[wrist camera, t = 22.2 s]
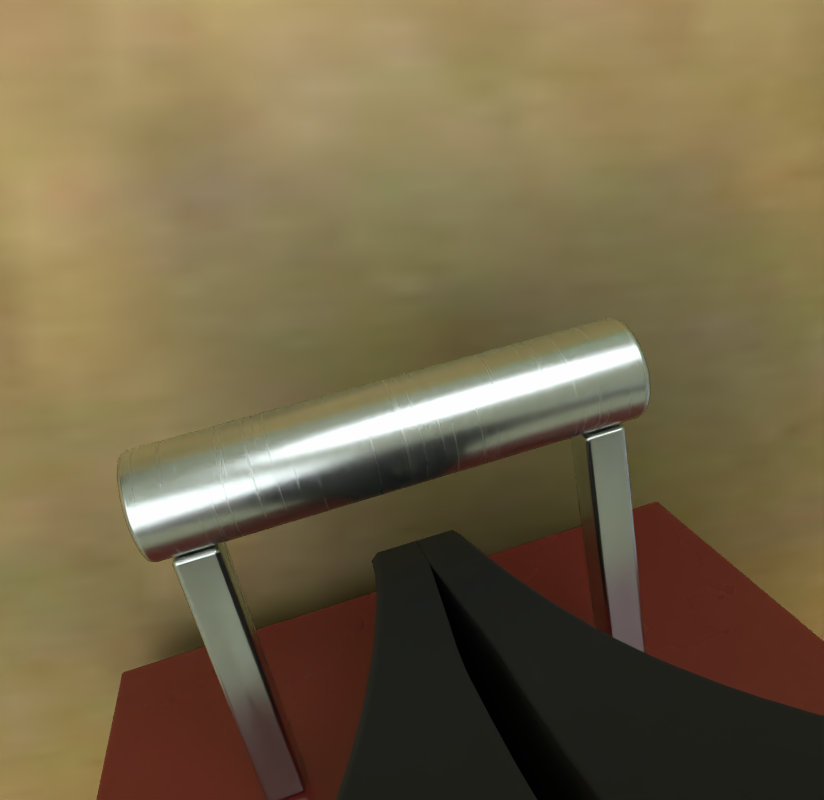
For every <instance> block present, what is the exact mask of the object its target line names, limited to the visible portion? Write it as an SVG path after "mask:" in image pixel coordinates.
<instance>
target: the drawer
mask: <svg viewBox="0 0 824 800" xmlns="http://www.w3.org/2000/svg"><path fill="white" fill-rule="evenodd" d="M650 390H651V388H650V376H649V371H648V366H647V362H646V359H645V356H644V354H643V351H642V349H641V346H640V344H639V342H638V340H637V339H636V337H635V335H634V334H633V332H632V331H631V330H630V329H629V328H628V326H627V325H626V324H624V323H623V322H622V321H620V320H618V319H614V318H605V319H601V320H598V321H594V322H590V323H587V324H583V325H579V326H576V327H572V328H568V329H565V330H561V331H558V332H554V333H550V334H547V335H543V336H539V337H536V338H532V339H529V340H525V341H521V342H518V343H514V344H510V345H507V346H503V347H499V348H496V349H492V350H489V351H485V352H481V353H478V354H474V355H470V356H467V357H463V358H460V359H456V360H452V361H449V362H445V363H441V364H438V365H434V366H430V367H427V368H423V369H420V370H416V371H412V372H409V373H405V374H401V375H398V376H394V377H391V378H387V379H383V380H380V381H376V382H372V383H369V384H365V385H361V386H358V387H354V388H351V389H347V390H343V391H340V392H336V393H332V394H329V395H325V396H322V397H318V398H314V399H311V400H307V401H303V402H300V403H296V404H292V405H289V406H285V407H282V408H278V409H274V410H271V411H267V412H263V413H260V414H256V415H253V416H249V417H245V418H242V419H238V420H234V421H231V422H227V423H223V424H220V425H216V426H213V427H209V428H205V429H202V430H198V431H194V432H191V433H187V434H184V435H180V436H176V437H173V438H169V439H165V440H162V441H158V442H154V443H151V444H147V445H144V446H140V447H136V448H133V449H129V450H126V451H125V452H123V453H122V454H121V455H120V457H119V460H118V465H117V483H118V491H119V497H120V502H121V507H122V511H123V514H124V518H125V521H126V524H127V527H128V529H129V532H130V534H131V536H132V539H133V541H134V543H135V545H136V546H137V548H138V549H139V551H140V552H141V554H142V555H143V556H144V558H145V559H147V560H148V561H150V562H159V561H162V560H166V559H169V558H172V557H173V567H174V570H175V572H176V575H177V577H178V580H179V582H180V585H181V587H182V590H183V592H184V595H185V597H186V600H187V602H188V605H189V607H190V610H191V613H192V615H193V618H194V620H195V623H196V625H197V628H198V630H199V633H200V635H201V638H202V640H203V643H204V645H205V646H204V647H201V648H198V649H195V650H192V651H189V652H186V653H183V654H180V655H176V656H173V657H170V658H167V659H164V660H161V661H158V662H155V663H151V664H148V665H145V666H142V667H139V668H136V669H133V670H130V671H126V672H124V673H123V674H122V678H121V683H120V688H119V692H118V697H117V702H116V707H115V712H114V717H113V722H112V727H111V731H110V736H109V741H108V746H107V751H106V756H105V761H104V766H103V771H102V775H101V780H100V785H99V790H98V795H97V800H336V798H337V795H338V792H339V789H340V786H341V782H342V779H343V776H344V773H345V770H346V767H347V764H348V761H349V757H350V754H351V751H352V747H353V743H354V739H355V736H356V732H357V728H358V724H359V720H360V716H361V712H362V707H363V703H364V698H365V693H366V687H367V681H368V675H369V670H370V664H371V658H372V651H373V643H374V631H375V620H376V592H373V593H370V594H367V595H364V596H360V597H357V598H354V599H351V600H348V601H345V602H342V603H339V604H335V605H332V606H329V607H326V608H323V609H320V610H317V611H314V612H311V613H307V614H304V615H301V616H298V617H295V618H292V619H289V620H286V621H282V622H279V623H276V624H273V625H270V626H267V627H264V628H261V629H257V630H256V627H255V624H254V621H253V619H252V616H251V613H250V610H249V607H248V605H247V602H246V599H245V596H244V593H243V591H242V588H241V585H240V582H239V579H238V577H237V574H236V571H235V568H234V565H233V563H232V560H231V557H230V554H229V551H228V549H227V546H226V543H225V542H226V541H229V540H232V539H236V538H239V537H242V536H246V535H249V534H252V533H256V532H259V531H262V530H266V529H269V528H272V527H276V526H279V525H282V524H286V523H289V522H292V521H296V520H299V519H302V518H306V517H309V516H312V515H316V514H319V513H322V512H326V511H329V510H332V509H336V508H339V507H342V506H346V505H349V504H352V503H356V502H359V501H362V500H366V499H369V498H372V497H376V496H379V495H382V494H386V493H389V492H392V491H396V490H399V489H402V488H406V487H409V486H412V485H416V484H419V483H422V482H426V481H429V480H432V479H436V478H439V477H442V476H446V475H449V474H452V473H456V472H459V471H462V470H466V469H469V468H472V467H476V466H479V465H482V464H486V463H489V462H492V461H496V460H499V459H502V458H506V457H509V456H512V455H516V454H519V453H522V452H526V451H529V450H532V449H536V448H539V447H542V446H546V445H549V444H552V443H556V442H559V441H562V440H566V439H569V438H570V439H571V447H572V455H573V463H574V471H575V479H576V486H577V494H578V502H579V510H580V518H581V526H579V527H576V528H573V529H569V530H566V531H563V532H560V533H557V534H554V535H551V536H548V537H544V538H541V539H538V540H535V541H532V542H529V543H526V544H523V545H519V546H516V547H513V548H510V549H507V550H504V551H501V552H498V553H495V554H491V555H488V556H487V557H489V558H490V559H491V560H493V561H494V562H495V563H497V564H498V565H499V566H501V567H502V568H503V569H505V570H506V571H507V572H509V573H510V574H512V575H513V576H514V577H516V578H517V579H519V580H520V581H522V582H523V583H524V584H526V585H527V586H529V587H530V588H532V589H533V590H535V591H536V592H538V593H539V594H541V595H542V596H544V597H545V598H547V599H548V600H550V601H551V602H553V603H555V604H556V605H558V606H559V607H561V608H562V609H564V610H566V611H567V612H569V613H571V614H573V615H574V616H576V617H578V618H579V619H581V620H583V621H584V622H586V623H588V624H590V625H591V626H593V627H595V628H597V629H599V630H600V631H602V632H604V633H606V634H608V635H610V636H612V637H613V638H615V639H617V640H619V641H622V642H624V643H626V644H628V645H630V646H632V647H634V648H636V649H638V650H640V651H642V652H644V653H647V654H649V655H651V656H653V657H655V658H658V659H660V660H662V661H665V662H667V663H669V664H672V665H674V666H676V667H679V668H682V669H684V670H687V671H689V672H692V673H695V674H697V675H700V676H702V677H705V678H708V679H710V680H713V681H715V682H718V683H721V684H723V685H726V686H729V687H732V688H735V689H738V690H741V691H744V692H747V693H750V694H753V695H756V696H759V697H762V698H765V699H768V700H772V701H775V702H778V703H782V704H785V705H788V706H792V707H795V708H798V709H802V710H805V711H808V712H812V713H815V714H819V715H823V716H824V641H823V640H821V639H820V638H819V637H818V636H817V635H815V634H814V633H813V632H812V631H811V630H809V629H808V628H807V627H806V626H805V625H803V624H802V623H801V622H800V621H799V620H798V619H796V618H795V617H794V616H793V615H792V614H790V613H789V612H788V611H787V610H786V609H784V608H783V607H782V606H781V605H780V604H778V603H777V602H776V601H775V600H774V599H772V598H771V597H770V596H769V595H768V594H767V593H765V592H764V591H763V590H762V589H761V588H759V587H758V586H757V585H756V584H755V583H753V582H752V581H751V580H750V579H749V578H747V577H746V576H745V575H744V574H743V573H741V572H740V571H739V570H738V569H737V568H736V567H734V566H733V565H732V564H731V563H730V562H728V561H727V560H726V559H725V558H724V557H722V556H721V555H720V554H719V553H718V552H716V551H715V550H714V549H713V548H712V547H711V546H709V545H708V544H707V543H706V542H705V541H703V540H702V539H701V538H700V537H699V536H697V535H696V534H695V533H694V532H693V531H691V530H690V529H689V528H688V527H687V526H685V525H684V524H683V523H682V522H681V521H680V520H678V519H677V518H676V517H675V516H674V515H672V514H671V513H670V512H669V511H668V510H666V509H665V508H664V507H663V506H662V505H660V504H659V503H658V502H654V503H650V504H647V505H644V506H641V507H638V508H635V509H632V500H631V489H630V478H629V468H628V457H627V447H626V436H625V429H624V427H623V425H621V424H620V423H622V422H626V421H629V420H632V419H636V418H638V417H639V416H641V415H642V414H643V413H644V412H645V411H646V409H647V407H648V404H649V400H650Z"/></svg>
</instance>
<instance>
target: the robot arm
mask: <svg viewBox="0 0 824 800" xmlns="http://www.w3.org/2000/svg"><path fill="white" fill-rule="evenodd" d="M372 564H373V568H374V572H375V577H376V620H375V631H374V643H373V651H372V658H371V664H370V670H369V675H368V681H367V687H366V693H365V698H364V703H363V707H362V712H361V716H360V720H359V724H358V728H357V732H356V736H355V739H354V743H353V747H352V751H351V754H350V757H349V761H348V764H347V767H346V770H345V773H344V776H343V779H342V782H341V786H340V789H339V792H338V795H337V798H336V800H824V716H823V715H819V714H815V713H812V712H808V711H805V710H802V709H798V708H795V707H792V706H788V705H785V704H782V703H778V702H775V701H772V700H768V699H765V698H762V697H759V696H756V695H753V694H750V693H747V692H744V691H741V690H738V689H735V688H732V687H729V686H726V685H723V684H721V683H718V682H715V681H713V680H710V679H708V678H705V677H702V676H700V675H697V674H695V673H692V672H689V671H687V670H684V669H682V668H679V667H676V666H674V665H672V664H669V663H667V662H665V661H662V660H660V659H658V658H655V657H653V656H651V655H649V654H647V653H644V652H642V651H640V650H638V649H636V648H634V647H632V646H630V645H628V644H626V643H624V642H622V641H619V640H617V639H615V638H613V637H612V636H610V635H608V634H606V633H604V632H602V631H600V630H599V629H597V628H595V627H593V626H591V625H590V624H588V623H586V622H584V621H583V620H581V619H579V618H578V617H576V616H574V615H573V614H571V613H569V612H567V611H566V610H564V609H562V608H561V607H559V606H558V605H556V604H555V603H553V602H551V601H550V600H548V599H547V598H545V597H544V596H542V595H541V594H539V593H538V592H536V591H535V590H533V589H532V588H530V587H529V586H527V585H526V584H524V583H523V582H522V581H520V580H519V579H517V578H516V577H514V576H513V575H512V574H510V573H509V572H507V571H506V570H505V569H503V568H502V567H501V566H499V565H498V564H497V563H495V562H494V561H493V560H491V559H490V558H489V557H487V556H486V555H485V554H484V553H482V552H481V551H480V550H479V549H477V548H476V547H475V546H474V545H472V544H471V543H470V542H469V541H468V540H466V539H465V538H464V537H463V536H462V535H460V534H459V533H457V532H455V531H453V530H451V531H448V532H444V533H441V534H438V535H434V536H431V537H428V538H425V539H421V540H418V541H415V542H411V543H408V544H405V545H401V546H398V547H395V548H391V549H388V550H385V551H381V552H378V553H377V554H376V556H375V557H374V559H373V560H372Z"/></svg>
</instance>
